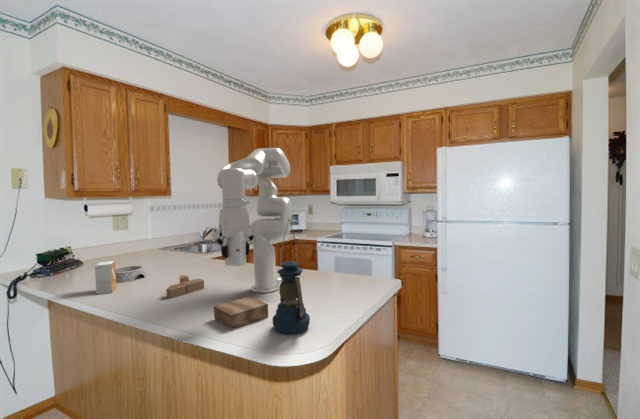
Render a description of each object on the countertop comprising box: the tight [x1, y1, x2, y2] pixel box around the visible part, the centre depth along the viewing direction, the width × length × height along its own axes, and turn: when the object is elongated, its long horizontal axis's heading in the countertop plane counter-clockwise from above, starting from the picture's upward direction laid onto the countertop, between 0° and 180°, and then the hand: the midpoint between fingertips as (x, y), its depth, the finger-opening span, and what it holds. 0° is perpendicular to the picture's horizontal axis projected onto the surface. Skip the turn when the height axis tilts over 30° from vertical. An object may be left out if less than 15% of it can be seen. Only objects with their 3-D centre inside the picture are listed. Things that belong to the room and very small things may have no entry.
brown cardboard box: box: [213, 296, 269, 330], centre depth 113 cm, size 14×12×5 cm
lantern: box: [272, 219, 311, 336], centre depth 103 cm, size 14×12×35 cm
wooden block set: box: [165, 274, 205, 300], centre depth 148 cm, size 17×6×18 cm
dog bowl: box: [115, 265, 147, 284], centre depth 172 cm, size 17×18×5 cm
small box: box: [94, 260, 117, 295], centre depth 149 cm, size 8×6×13 cm
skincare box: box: [224, 230, 247, 267], centre depth 113 cm, size 6×4×12 cm
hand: (235, 255), depth 113 cm, fingers closed on skincare box, 6 cm apart
